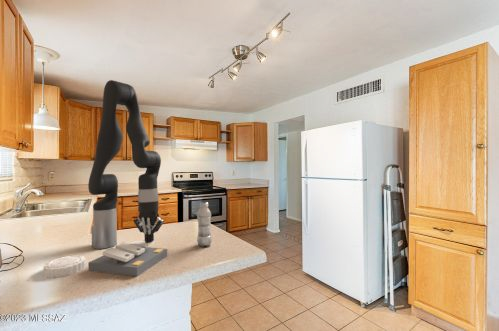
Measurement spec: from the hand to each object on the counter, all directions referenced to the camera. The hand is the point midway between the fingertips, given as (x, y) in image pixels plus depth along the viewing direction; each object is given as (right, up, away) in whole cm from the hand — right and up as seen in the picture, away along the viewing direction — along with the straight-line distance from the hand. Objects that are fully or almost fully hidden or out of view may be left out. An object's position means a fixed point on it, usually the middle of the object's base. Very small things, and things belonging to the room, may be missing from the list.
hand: (149, 242), depth 96 cm
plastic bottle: (+20, -6, +14) cm, 25 cm away
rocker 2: (-4, -1, +1) cm, 4 cm away
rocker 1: (-7, -1, -11) cm, 13 cm away
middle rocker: (-5, -1, -5) cm, 7 cm away
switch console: (-5, -6, -5) cm, 9 cm away
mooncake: (-26, -7, -10) cm, 29 cm away
